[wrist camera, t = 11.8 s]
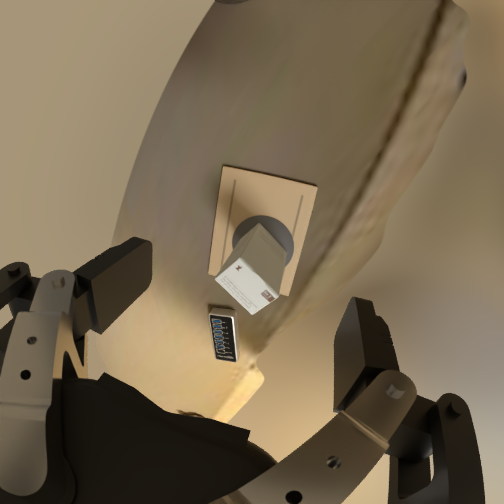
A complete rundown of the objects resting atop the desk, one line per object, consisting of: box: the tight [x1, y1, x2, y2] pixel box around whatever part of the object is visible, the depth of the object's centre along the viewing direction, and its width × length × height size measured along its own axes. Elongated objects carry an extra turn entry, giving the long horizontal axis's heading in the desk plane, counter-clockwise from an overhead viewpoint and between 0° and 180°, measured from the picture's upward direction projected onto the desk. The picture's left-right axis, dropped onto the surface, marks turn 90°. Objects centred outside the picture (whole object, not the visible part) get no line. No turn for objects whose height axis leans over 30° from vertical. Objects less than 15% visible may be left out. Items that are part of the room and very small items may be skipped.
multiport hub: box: [208, 307, 240, 362], centre depth 48 cm, size 4×11×2 cm, turn 2°
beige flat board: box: [208, 166, 318, 296], centre depth 39 cm, size 17×13×1 cm
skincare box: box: [215, 223, 287, 315], centre depth 34 cm, size 6×4×12 cm
